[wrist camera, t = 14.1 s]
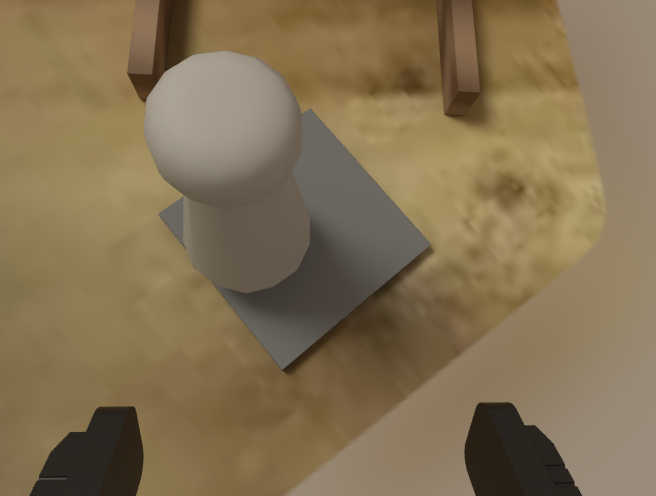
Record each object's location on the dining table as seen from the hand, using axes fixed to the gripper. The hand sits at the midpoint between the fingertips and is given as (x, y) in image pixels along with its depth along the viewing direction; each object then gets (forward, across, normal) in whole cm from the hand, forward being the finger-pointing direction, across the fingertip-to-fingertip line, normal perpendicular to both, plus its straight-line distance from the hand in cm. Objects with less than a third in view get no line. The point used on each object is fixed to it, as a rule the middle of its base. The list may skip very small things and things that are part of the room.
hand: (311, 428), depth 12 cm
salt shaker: (+14, -2, -3) cm, 15 cm away
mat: (+15, 0, -3) cm, 15 cm away
